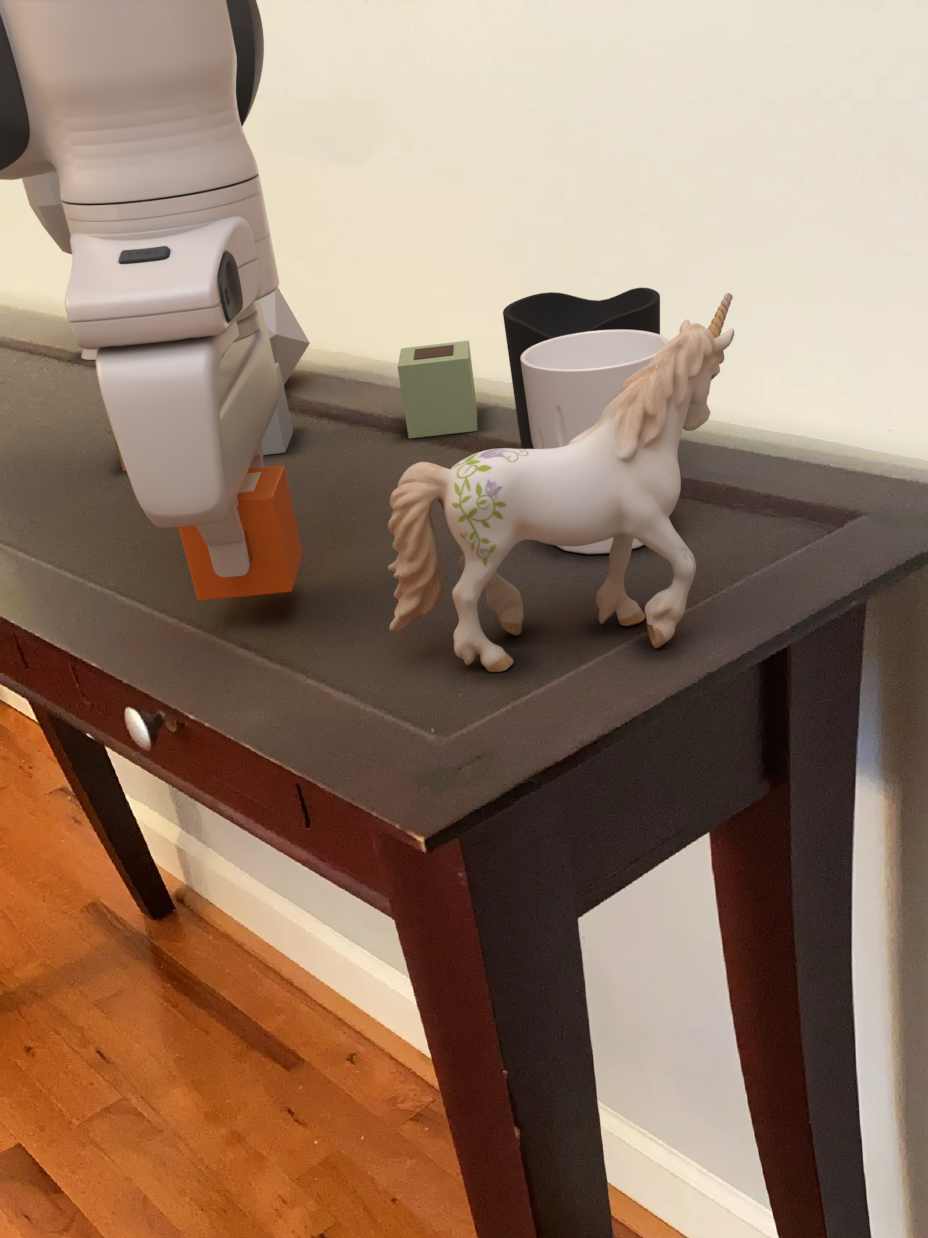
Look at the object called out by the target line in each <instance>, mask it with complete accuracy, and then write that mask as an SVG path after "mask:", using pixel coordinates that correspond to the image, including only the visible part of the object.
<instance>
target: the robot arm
mask: <svg viewBox="0 0 928 1238" xmlns="http://www.w3.org/2000/svg"><path fill="white" fill-rule="evenodd" d="M263 27H264V26H263V22H262V17H261V13H260V9H259V5H258V2H257V0H0V180H3V181H4V180H5V181H14V180H22V178H26V177H32V176H37V175H43V174H48V173H53V172H57V173H58V177H59V185H60V197H61V200H62V201H61V202H62V206H63V209H64V213H65V216H66V220H67V224H68V228H69V231H70V235H71V238H70V245H71V251H72V254H71V255H72V260H71V270H70V275H69V280H68V283H67V287H66V291H65V297H64V307H65V312H66V316H67V320H68V323H69V326H70V330H71V333H72V336H73V339H74V342H75V344H76V345H77V346H78V347H79V348H81V349H83V348H84V349H86V348H98V350H97V353H96V360H95V370H96V376H97V382H98V385H99V389H100V395H101V397H102V402H103V401H104V403H103V405H104V404H105V407H104V409H105V408H106V410H105V412H106V411H107V414H108V417H109V420H110V423H111V426H112V429H113V433H114V436H115V439H116V442H117V445H118V448H119V451H120V454H121V456H122V459H123V462H124V465H125V468H126V471H125V472H126V473H127V476H128V479H129V483H130V485H131V487H132V491H133V493H134V495H135V498H136V500H137V503H138V505H139V506H140V507H141V509H142V510H143V512H144V514H145V515H146V517H147V518H148V519H149V521H150V522H151V523H152V524H153V525H154V526H155V527H157V528H160V529H167V528H168V529H169V528H171V529H172V528H179V527H185V526H195V525H196V527H197V529H198V531H199V532H200V534H201V536H202V538H203V539H204V541H205V543H206V545H208V549H209V553H210V557H211V561H212V565H213V569H214V572H215V573H216V574H217V575H218V576H220V577H222V578H226V577H237V576H244V575H246V574H247V573H248V571H249V568H250V565H251V562H252V559H253V557H252V552H251V549H250V543H249V539H248V535H247V531H243V528H242V524H241V521H240V518H239V514H238V511H237V507H238V499H237V494H238V492H239V490H240V487H241V485H242V483H243V481H244V478H245V476H246V474H247V472H248V470H249V468H259V467H265V464H264V463H265V462H264V455H263V447H262V443H261V440H262V438H263V436H264V434H265V432H266V429H267V427H268V425H269V423H270V420H271V418H272V416H273V414H274V411H275V409H276V407H277V405H278V403H279V383H278V376H277V370H276V366H275V361H274V357H273V352H272V348H271V344H270V339H269V335H268V331H267V326H266V322H265V318H264V314H263V309H262V305H261V301H260V299H261V298H263V297H265V296H267V295H269V294H271V293H272V292H274V291H275V290H276V289H277V288H279V286H280V278H279V272H278V267H277V262H276V256H275V252H274V247H273V241H272V236H271V230H270V225H269V219H268V215H267V214H268V213H267V210H266V204H265V199H264V194H263V192H264V191H263V188H262V187H263V186H262V183H261V182H262V181H261V176H260V174H259V168H258V164H257V160H256V158H255V155H254V153H253V151H252V148H251V147H250V144H249V142H248V139H247V137H246V135H245V133H244V129H243V126H244V124H245V122H246V121H247V119H248V117H249V116H250V113H251V110H252V107H253V105H254V103H255V100H256V97H257V95H258V94H257V93H258V90H259V87H260V83H261V78H262V72H263V66H264V57H265V40H264V39H265V38H264V28H263ZM107 414H106V415H107ZM108 417H107V418H108Z"/></svg>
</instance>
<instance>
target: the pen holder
mask: <svg viewBox="0 0 928 1238" xmlns="http://www.w3.org/2000/svg"><path fill="white" fill-rule="evenodd" d="M502 316H503V323H504V332H505V339H506V345H507V346H506V347H507V354H508V361H509V367H510V375H511V385H512V390H513V398H514V404H515V411H516V421H517V426H518V434H519V439H520V448H521V449H534V447H533V444H532V440H531V432H530V424H529V417H528V410H527V402H526V395H525V388H524V380H523V373H522V366H521V359H520V358H521V355H522V353H523V352H524V351H525V350H527V349H528V348H530V347H531V346H533V345H535V344H538V343H540V342H543V341H546V340H549V339H552V338H556V337H560V336H564V335H569V334H575V333H581V332H589V331H598V330H640V331H647V332H652V333H656V334H659V335H661V294H660V293H659V292H658V291H657V290H655V289H653V288H651V287H635V288H631V289H629V290H626V291H624V292H622V293H619V294H617V295H614V296H612V297H609V298H606V299H600V300H596V299H587V298H583V297H579V296H575V295H572V294H568V293H563V292H555V291H554V292H553V291H552V292H551V291H550V292H540V293H536V294H532V295H529V296H525V297H523V298H520V299H518V300H515V301H513V302H511V303H509V304H508V305H506V307H504V308H503V311H502Z"/></svg>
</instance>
